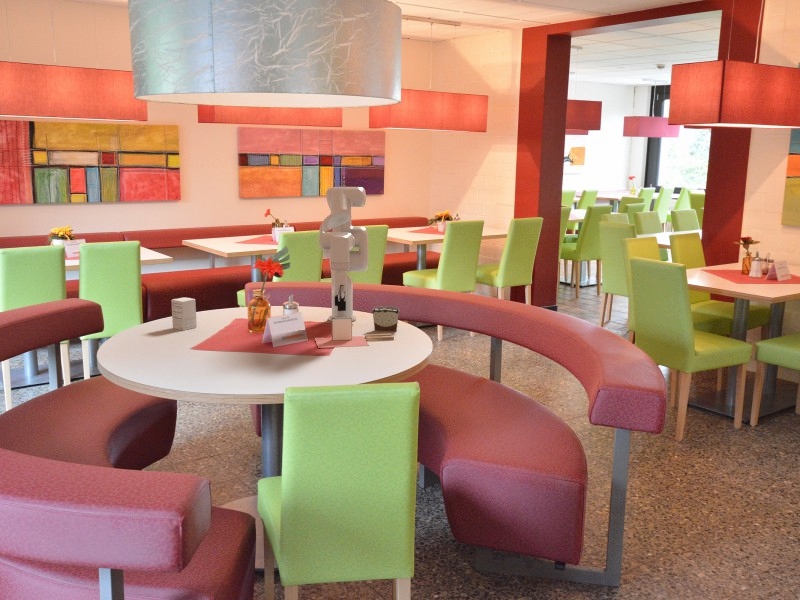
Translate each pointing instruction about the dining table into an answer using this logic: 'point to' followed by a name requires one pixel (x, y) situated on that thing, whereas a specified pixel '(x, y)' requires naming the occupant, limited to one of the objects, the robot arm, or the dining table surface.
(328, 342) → the mat
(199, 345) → the dining table surface
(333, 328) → the grey square slab
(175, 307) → the supplement box
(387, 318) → the half round cake
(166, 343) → the dining table surface
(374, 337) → the stand
